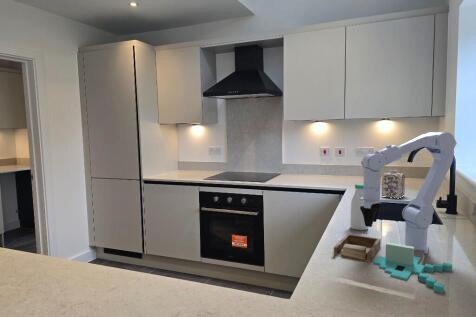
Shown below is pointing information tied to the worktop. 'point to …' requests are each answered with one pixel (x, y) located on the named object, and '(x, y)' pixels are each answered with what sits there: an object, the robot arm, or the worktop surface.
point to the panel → (399, 253)
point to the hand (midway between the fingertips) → (370, 223)
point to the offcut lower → (354, 254)
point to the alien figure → (414, 271)
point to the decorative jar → (393, 184)
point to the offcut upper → (354, 249)
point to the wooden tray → (368, 242)
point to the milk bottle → (357, 209)
